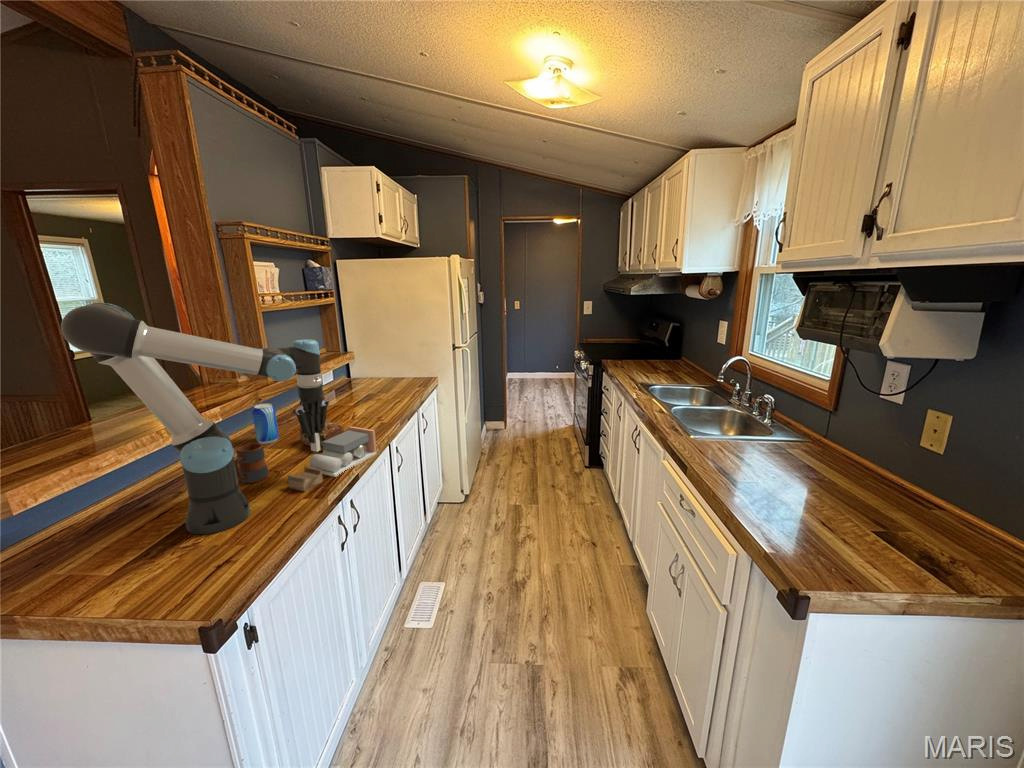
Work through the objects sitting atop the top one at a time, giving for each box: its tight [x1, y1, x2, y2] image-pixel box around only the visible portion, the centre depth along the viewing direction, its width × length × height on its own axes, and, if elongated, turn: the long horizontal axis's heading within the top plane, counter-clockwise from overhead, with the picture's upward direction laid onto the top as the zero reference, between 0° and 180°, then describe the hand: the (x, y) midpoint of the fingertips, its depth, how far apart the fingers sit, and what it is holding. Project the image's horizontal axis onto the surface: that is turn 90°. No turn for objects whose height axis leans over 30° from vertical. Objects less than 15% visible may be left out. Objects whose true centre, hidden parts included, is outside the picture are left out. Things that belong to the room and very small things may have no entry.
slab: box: [323, 430, 369, 453], centre depth 155 cm, size 10×13×3 cm
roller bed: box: [309, 426, 378, 478], centre depth 154 cm, size 12×22×10 cm, turn 159°
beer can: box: [251, 403, 280, 445], centre depth 174 cm, size 8×8×16 cm
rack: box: [286, 465, 324, 492], centre depth 138 cm, size 8×7×4 cm
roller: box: [348, 445, 367, 458], centre depth 159 cm, size 10×5×5 cm, turn 69°
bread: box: [298, 420, 347, 452], centre depth 171 cm, size 19×11×10 cm, turn 55°
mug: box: [234, 442, 269, 484], centre depth 139 cm, size 9×12×12 cm
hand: (315, 450), depth 143 cm, fingers closed
